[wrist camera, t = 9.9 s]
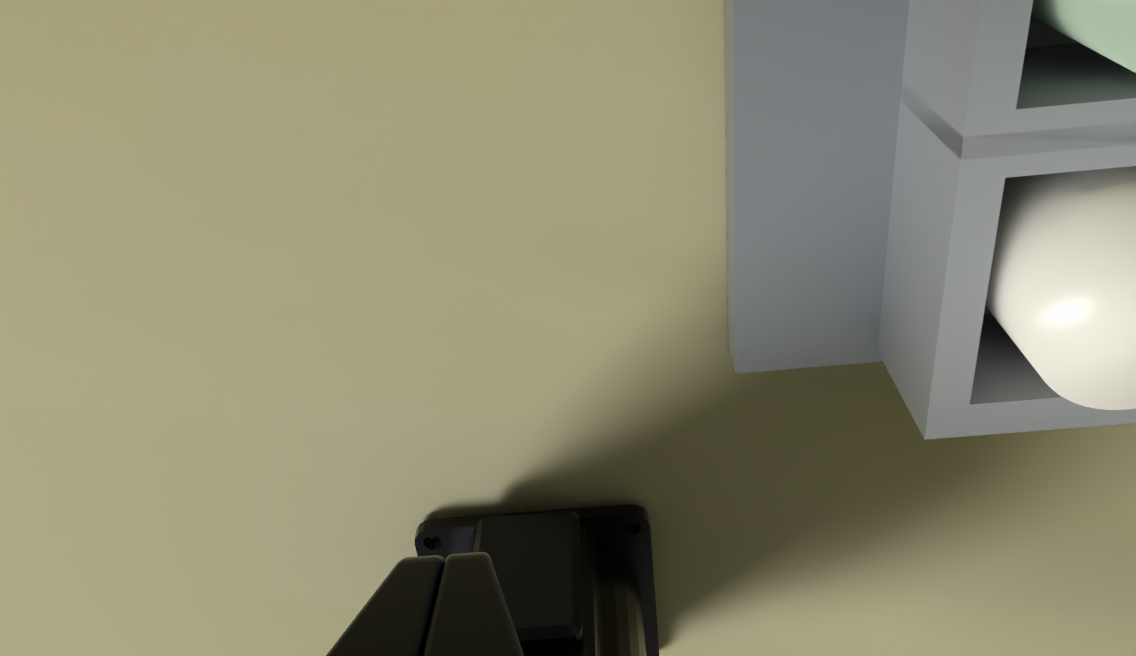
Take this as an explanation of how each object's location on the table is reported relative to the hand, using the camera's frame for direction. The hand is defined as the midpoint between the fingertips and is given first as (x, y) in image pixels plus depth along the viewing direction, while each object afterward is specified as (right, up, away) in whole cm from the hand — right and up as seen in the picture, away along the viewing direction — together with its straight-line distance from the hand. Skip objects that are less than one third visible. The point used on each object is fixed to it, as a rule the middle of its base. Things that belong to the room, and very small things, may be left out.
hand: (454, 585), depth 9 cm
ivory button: (+11, +5, +11) cm, 16 cm away
